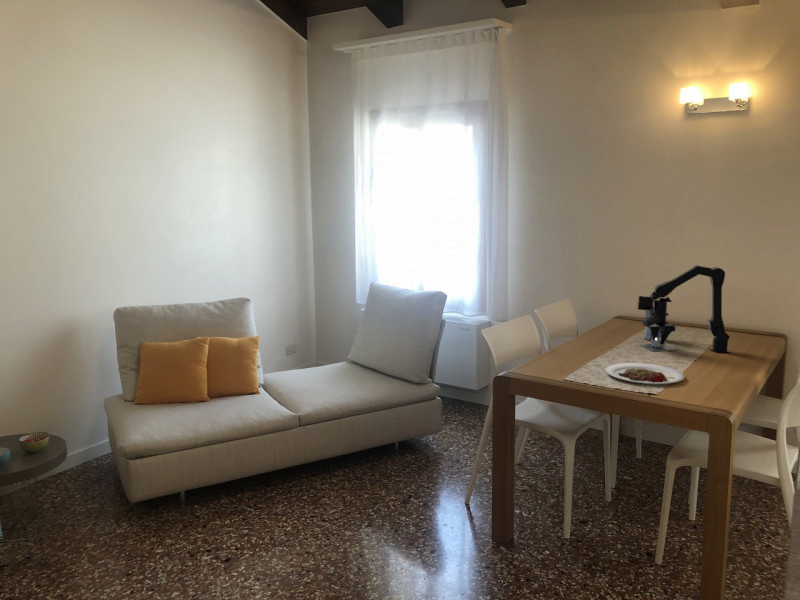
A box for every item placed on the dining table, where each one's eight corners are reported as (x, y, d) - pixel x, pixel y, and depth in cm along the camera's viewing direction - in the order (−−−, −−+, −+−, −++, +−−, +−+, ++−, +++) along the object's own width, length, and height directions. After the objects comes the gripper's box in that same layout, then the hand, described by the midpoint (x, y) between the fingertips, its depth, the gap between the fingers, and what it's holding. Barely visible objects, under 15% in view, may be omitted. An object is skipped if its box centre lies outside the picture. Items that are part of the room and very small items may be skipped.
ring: (667, 346, 306) (668, 340, 306) (655, 347, 305) (655, 341, 305) (660, 343, 312) (661, 337, 312) (648, 344, 311) (648, 338, 311)
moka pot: (658, 336, 335) (660, 298, 332) (667, 343, 320) (670, 303, 316) (639, 336, 336) (642, 298, 333) (648, 342, 321) (650, 303, 317)
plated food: (621, 363, 281) (621, 356, 281) (693, 375, 263) (694, 367, 262) (594, 378, 258) (594, 370, 258) (670, 392, 240) (671, 383, 239)
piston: (676, 350, 304) (677, 340, 303) (652, 351, 302) (653, 341, 301) (662, 344, 316) (663, 335, 315) (639, 345, 314) (640, 335, 313)
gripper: (634, 308, 314) (633, 339, 316) (654, 314, 296) (653, 347, 298) (655, 307, 316) (654, 338, 318) (677, 313, 297) (675, 346, 300)
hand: (658, 342), depth 308 cm, fingers open, 7 cm apart
